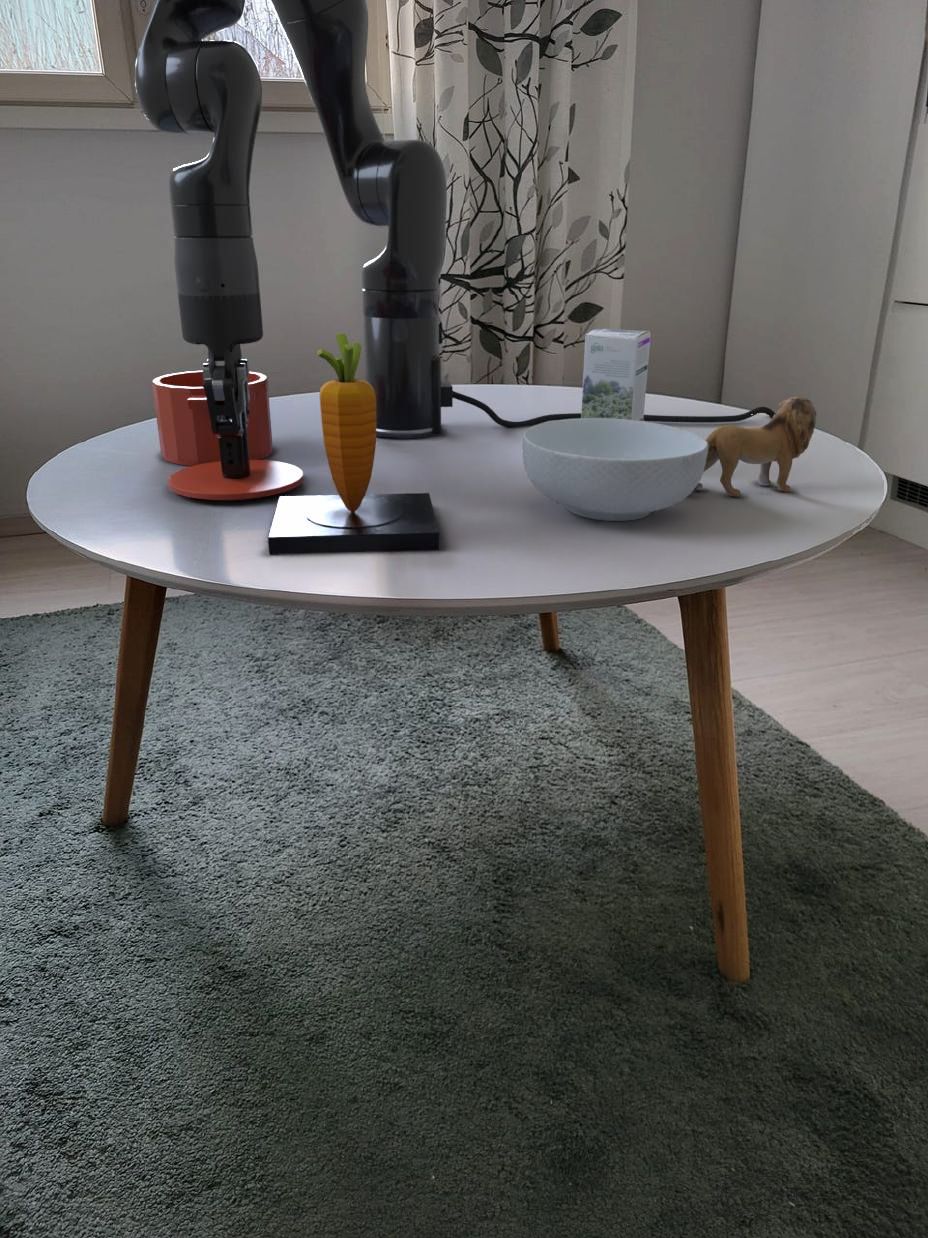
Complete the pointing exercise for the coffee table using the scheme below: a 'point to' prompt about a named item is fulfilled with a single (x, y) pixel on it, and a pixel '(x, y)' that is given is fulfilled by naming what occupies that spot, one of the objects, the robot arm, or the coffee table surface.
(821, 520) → the coffee table surface
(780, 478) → the lion figurine
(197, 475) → the pot lid
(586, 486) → the cereal bowl
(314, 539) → the hob plate
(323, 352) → the carrot
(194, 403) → the pot
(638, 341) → the syrup box
